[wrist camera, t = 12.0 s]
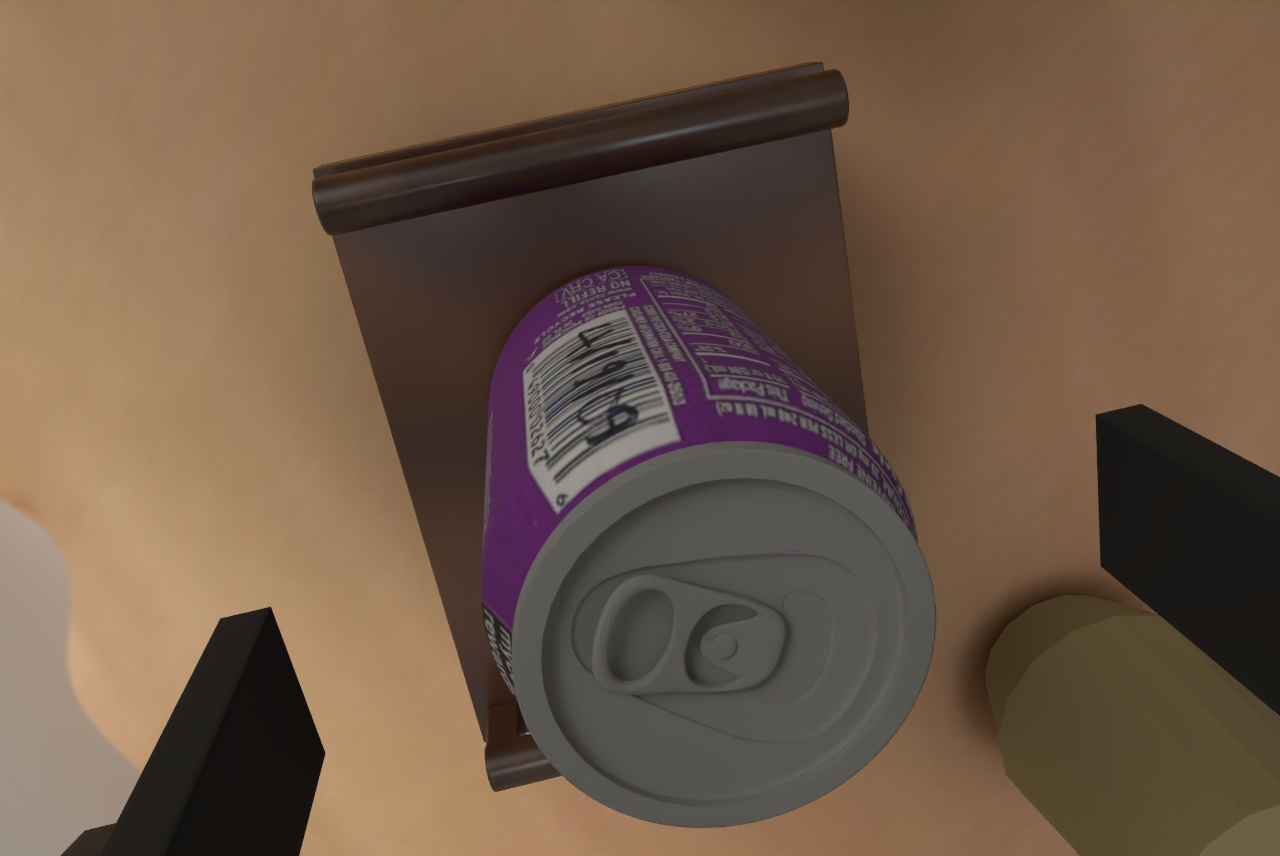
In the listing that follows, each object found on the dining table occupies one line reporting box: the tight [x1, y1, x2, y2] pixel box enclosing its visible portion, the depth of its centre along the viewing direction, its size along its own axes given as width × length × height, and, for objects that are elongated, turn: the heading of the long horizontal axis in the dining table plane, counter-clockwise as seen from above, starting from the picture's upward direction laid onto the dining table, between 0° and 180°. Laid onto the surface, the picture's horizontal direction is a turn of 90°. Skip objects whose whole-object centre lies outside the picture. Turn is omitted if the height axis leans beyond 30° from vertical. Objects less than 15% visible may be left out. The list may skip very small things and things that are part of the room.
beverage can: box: [481, 266, 936, 828], centre depth 20 cm, size 7×7×12 cm
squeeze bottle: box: [984, 595, 1280, 856], centre depth 30 cm, size 8×8×18 cm
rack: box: [312, 62, 869, 792], centre depth 28 cm, size 16×12×9 cm
